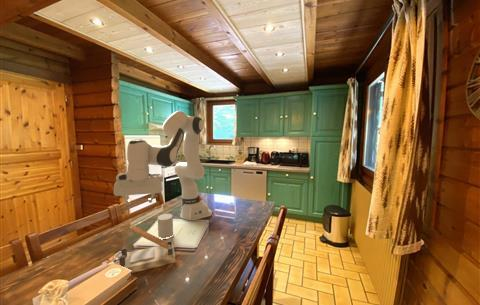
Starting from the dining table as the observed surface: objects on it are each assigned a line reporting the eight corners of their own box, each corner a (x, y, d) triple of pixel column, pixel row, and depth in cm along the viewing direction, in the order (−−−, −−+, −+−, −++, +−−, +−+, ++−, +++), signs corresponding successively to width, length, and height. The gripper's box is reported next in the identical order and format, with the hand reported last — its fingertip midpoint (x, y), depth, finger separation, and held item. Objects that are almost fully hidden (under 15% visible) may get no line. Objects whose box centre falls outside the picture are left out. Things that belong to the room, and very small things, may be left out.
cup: (176, 234, 118) (175, 215, 117) (166, 241, 110) (166, 220, 109) (164, 231, 121) (164, 213, 119) (155, 238, 113) (154, 218, 112)
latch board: (173, 248, 104) (172, 235, 103) (175, 262, 93) (175, 248, 92) (120, 259, 95) (120, 246, 94) (116, 276, 84) (115, 261, 83)
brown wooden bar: (169, 247, 99) (171, 244, 99) (170, 251, 96) (172, 248, 96) (130, 227, 91) (133, 224, 91) (129, 231, 87) (132, 228, 88)
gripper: (163, 172, 97) (163, 199, 99) (115, 173, 91) (116, 202, 92) (162, 174, 91) (162, 203, 93) (111, 176, 85) (112, 207, 86)
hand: (139, 203), depth 92 cm, fingers open, 8 cm apart
